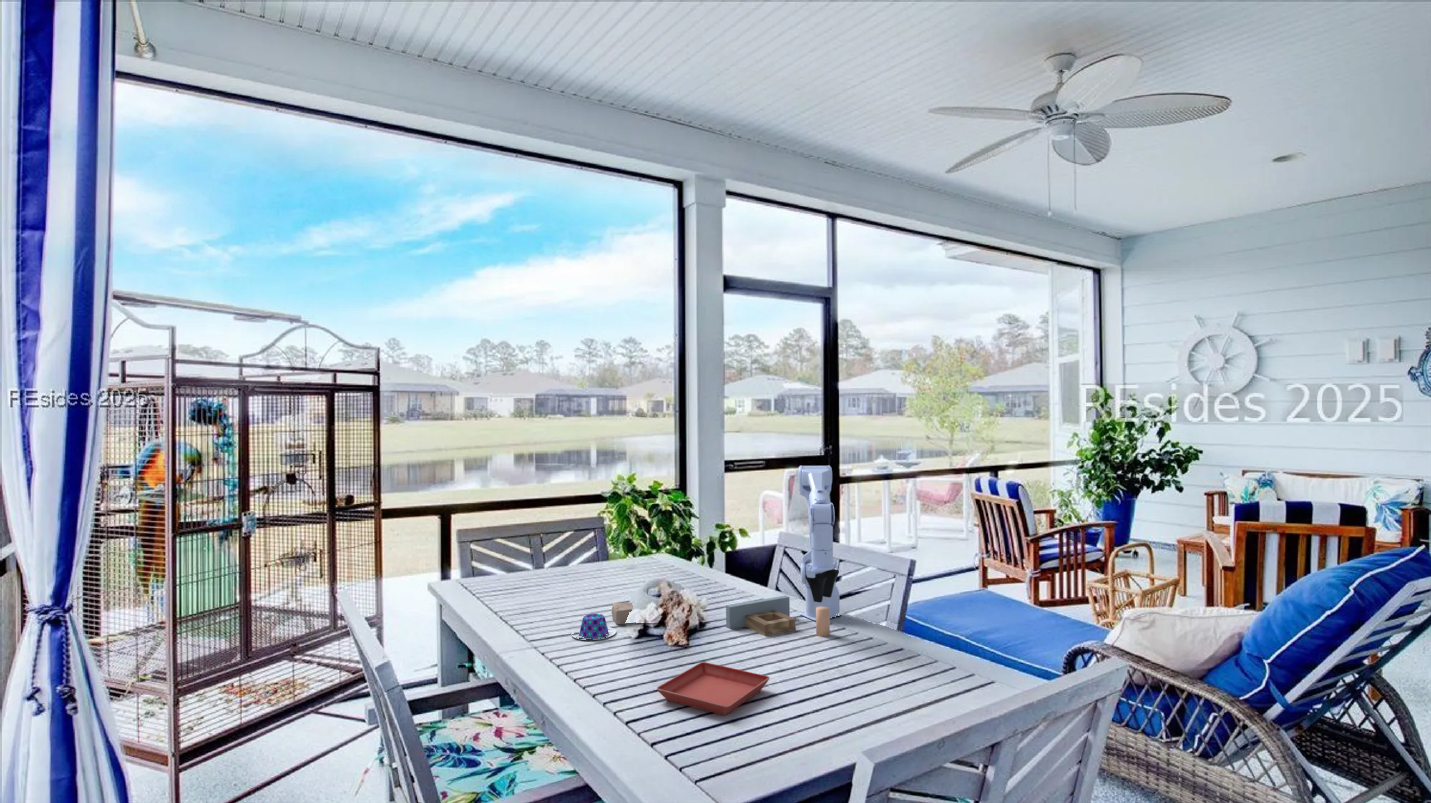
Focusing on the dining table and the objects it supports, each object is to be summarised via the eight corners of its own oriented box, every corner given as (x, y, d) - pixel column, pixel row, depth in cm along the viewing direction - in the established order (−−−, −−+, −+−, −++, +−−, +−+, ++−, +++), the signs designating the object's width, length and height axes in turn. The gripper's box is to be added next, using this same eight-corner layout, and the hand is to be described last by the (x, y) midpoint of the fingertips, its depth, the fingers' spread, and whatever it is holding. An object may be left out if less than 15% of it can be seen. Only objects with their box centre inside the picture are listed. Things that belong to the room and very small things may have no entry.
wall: (785, 616, 215) (785, 595, 215) (789, 617, 213) (789, 597, 213) (726, 627, 205) (726, 605, 205) (729, 628, 204) (729, 607, 204)
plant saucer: (728, 722, 145) (728, 705, 145) (654, 703, 155) (654, 687, 155) (771, 691, 160) (771, 676, 160) (702, 675, 170) (702, 661, 170)
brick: (666, 612, 221) (665, 597, 221) (673, 620, 213) (672, 604, 213) (611, 618, 216) (610, 602, 216) (616, 627, 208) (615, 610, 208)
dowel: (824, 631, 200) (824, 605, 200) (832, 635, 197) (832, 609, 197) (813, 633, 199) (813, 607, 199) (821, 637, 195) (821, 611, 195)
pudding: (592, 645, 192) (592, 625, 192) (562, 636, 199) (561, 617, 199) (625, 634, 201) (625, 614, 201) (595, 626, 209) (595, 607, 209)
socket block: (775, 620, 211) (775, 610, 211) (795, 630, 202) (795, 619, 202) (745, 626, 206) (745, 615, 206) (765, 636, 197) (764, 624, 197)
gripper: (820, 542, 206) (820, 591, 206) (796, 551, 194) (796, 603, 194) (843, 545, 202) (844, 594, 202) (820, 554, 190) (821, 607, 190)
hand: (822, 599), depth 198 cm, fingers open, 5 cm apart
